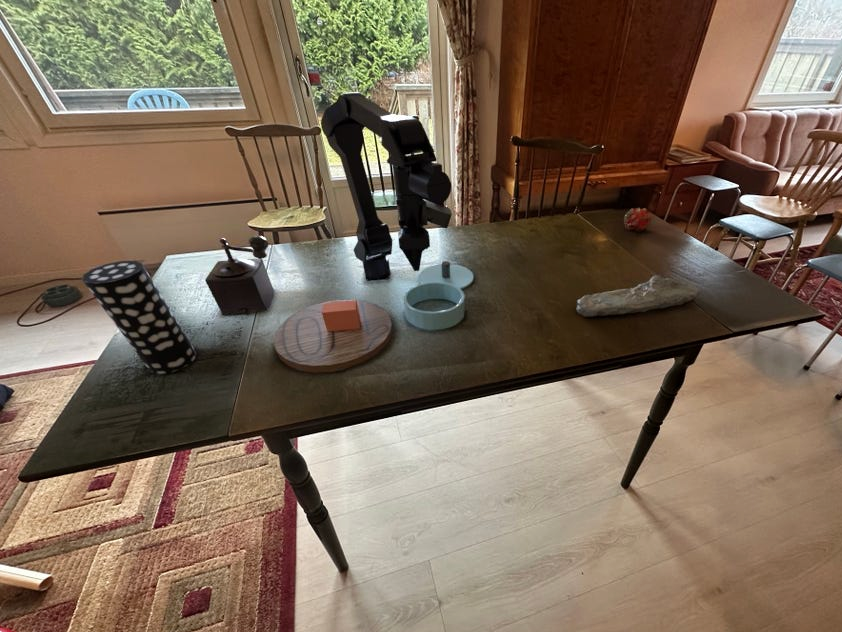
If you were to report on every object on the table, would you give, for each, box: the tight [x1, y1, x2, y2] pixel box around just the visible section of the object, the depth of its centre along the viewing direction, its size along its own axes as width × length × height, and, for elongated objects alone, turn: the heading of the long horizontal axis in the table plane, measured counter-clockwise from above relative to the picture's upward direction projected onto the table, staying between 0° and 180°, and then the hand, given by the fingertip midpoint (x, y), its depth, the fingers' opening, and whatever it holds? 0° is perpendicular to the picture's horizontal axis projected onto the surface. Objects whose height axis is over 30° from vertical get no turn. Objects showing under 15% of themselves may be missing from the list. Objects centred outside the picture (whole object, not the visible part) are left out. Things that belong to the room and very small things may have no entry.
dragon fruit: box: [622, 207, 652, 232], centre depth 135 cm, size 8×8×12 cm
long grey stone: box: [576, 275, 699, 318], centre depth 96 cm, size 35×5×10 cm
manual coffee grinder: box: [204, 235, 275, 316], centre depth 89 cm, size 16×11×18 cm
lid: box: [418, 260, 474, 290], centre depth 104 cm, size 15×15×5 cm
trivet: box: [273, 299, 393, 374], centre depth 84 cm, size 25×25×2 cm
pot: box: [402, 282, 466, 331], centre depth 90 cm, size 14×14×5 cm
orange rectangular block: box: [322, 299, 361, 332], centre depth 83 cm, size 7×4×5 cm, turn 102°
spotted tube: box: [81, 260, 198, 375], centre depth 70 cm, size 8×8×20 cm
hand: (415, 261), depth 87 cm, fingers open, 9 cm apart
